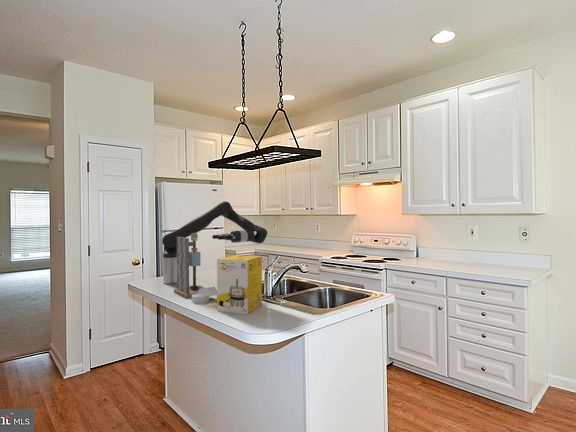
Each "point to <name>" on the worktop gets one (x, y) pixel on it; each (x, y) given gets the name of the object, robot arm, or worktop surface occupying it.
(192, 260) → the sleeve
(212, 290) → the wedge on round base
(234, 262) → the packaging box
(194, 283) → the grey rod stand
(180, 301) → the worktop surface
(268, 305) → the worktop surface
